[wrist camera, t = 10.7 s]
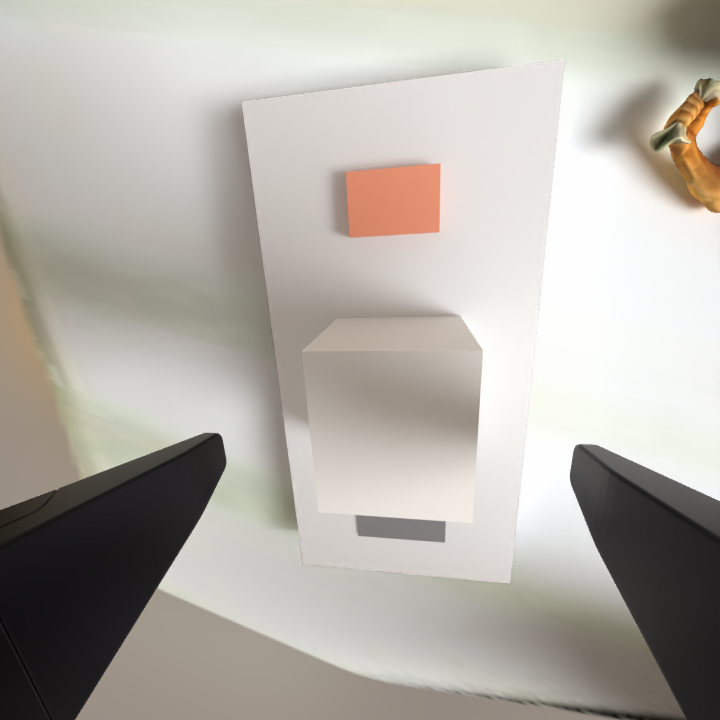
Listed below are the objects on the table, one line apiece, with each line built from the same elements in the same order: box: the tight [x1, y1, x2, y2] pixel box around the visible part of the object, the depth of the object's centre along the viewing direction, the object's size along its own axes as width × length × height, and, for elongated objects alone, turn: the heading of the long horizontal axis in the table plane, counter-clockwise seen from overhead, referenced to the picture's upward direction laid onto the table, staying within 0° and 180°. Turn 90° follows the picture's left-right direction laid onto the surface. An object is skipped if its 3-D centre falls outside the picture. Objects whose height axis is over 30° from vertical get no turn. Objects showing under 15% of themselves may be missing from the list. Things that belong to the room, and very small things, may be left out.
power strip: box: [242, 60, 565, 584], centre depth 15 cm, size 20×10×3 cm, turn 3°
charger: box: [302, 316, 483, 523], centre depth 13 cm, size 5×5×6 cm
